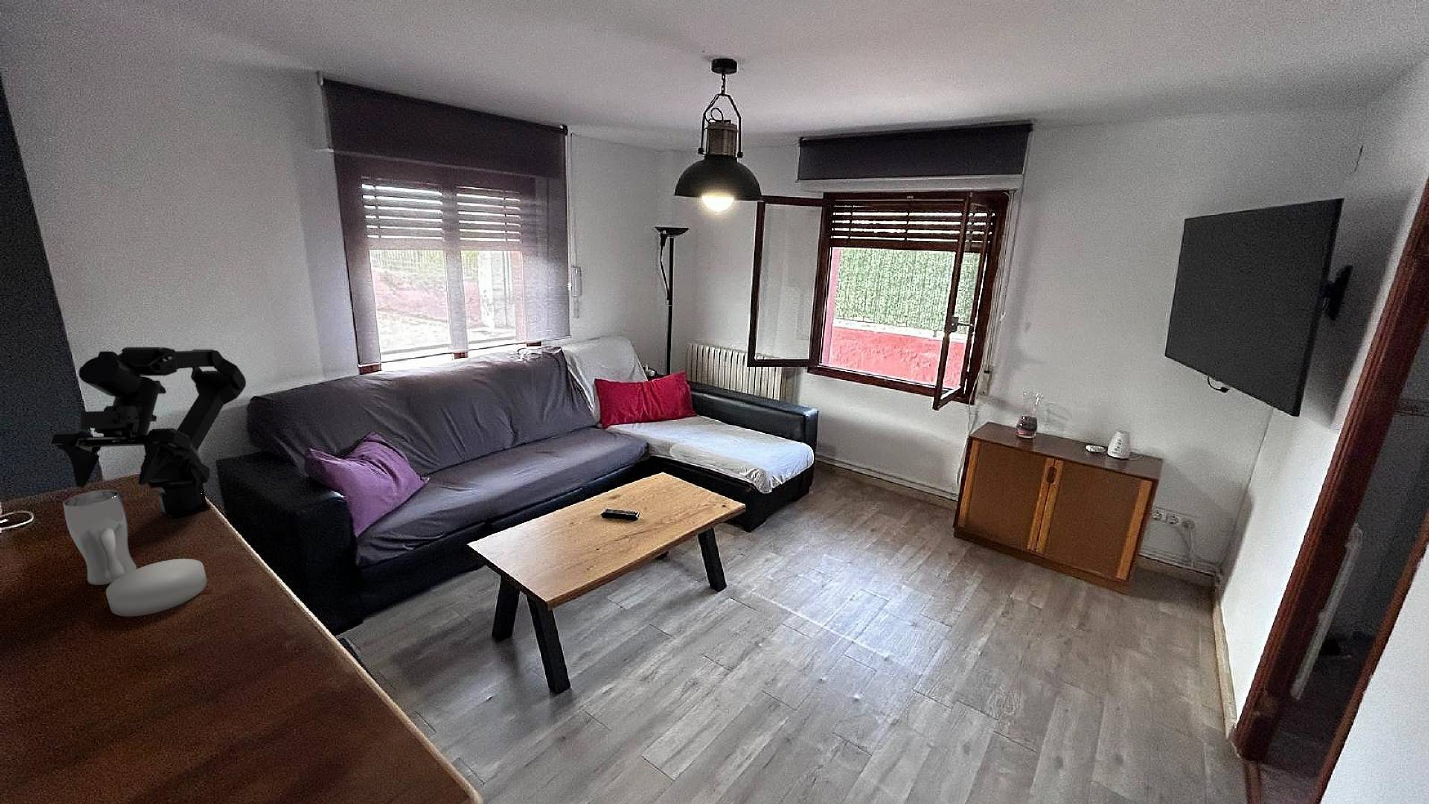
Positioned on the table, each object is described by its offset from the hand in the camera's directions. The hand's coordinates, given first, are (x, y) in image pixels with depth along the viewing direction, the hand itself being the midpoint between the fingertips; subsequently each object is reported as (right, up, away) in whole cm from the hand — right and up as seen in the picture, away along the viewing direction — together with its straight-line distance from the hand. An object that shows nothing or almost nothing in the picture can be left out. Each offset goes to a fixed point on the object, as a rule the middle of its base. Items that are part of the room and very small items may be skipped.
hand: (110, 486), depth 106 cm
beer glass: (+3, -15, -3) cm, 16 cm away
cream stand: (+16, -17, -7) cm, 24 cm away
